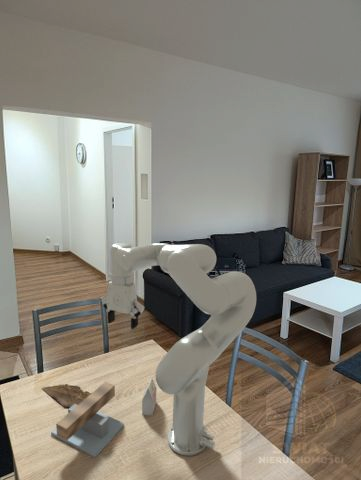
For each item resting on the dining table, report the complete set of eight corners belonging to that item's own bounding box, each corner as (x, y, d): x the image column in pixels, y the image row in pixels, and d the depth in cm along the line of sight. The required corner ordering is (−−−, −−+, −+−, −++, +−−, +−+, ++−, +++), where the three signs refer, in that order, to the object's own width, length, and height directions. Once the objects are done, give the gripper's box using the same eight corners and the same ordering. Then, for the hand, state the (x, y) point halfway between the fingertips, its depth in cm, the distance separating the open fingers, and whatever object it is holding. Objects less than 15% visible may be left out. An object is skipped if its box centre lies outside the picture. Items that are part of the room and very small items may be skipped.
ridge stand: (123, 425, 108) (123, 409, 107) (95, 457, 96) (94, 440, 95) (82, 407, 116) (82, 392, 115) (51, 434, 104) (50, 418, 103)
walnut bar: (67, 440, 94) (66, 428, 94) (56, 435, 96) (56, 423, 95) (114, 395, 114) (114, 385, 113) (105, 391, 115) (105, 381, 115)
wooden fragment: (107, 398, 121) (107, 396, 121) (87, 418, 111) (87, 415, 111) (55, 379, 132) (55, 376, 131) (33, 395, 122) (32, 393, 122)
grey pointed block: (142, 414, 114) (142, 389, 111) (146, 401, 120) (146, 376, 118) (152, 415, 113) (152, 390, 111) (156, 402, 120) (156, 377, 118)
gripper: (94, 278, 113) (96, 323, 117) (137, 286, 106) (137, 334, 110) (108, 272, 120) (109, 315, 123) (149, 279, 113) (149, 325, 116)
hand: (122, 324), depth 117 cm, fingers open, 9 cm apart
